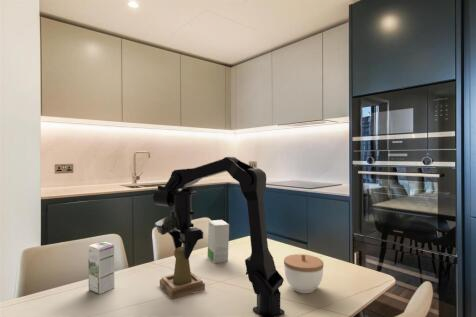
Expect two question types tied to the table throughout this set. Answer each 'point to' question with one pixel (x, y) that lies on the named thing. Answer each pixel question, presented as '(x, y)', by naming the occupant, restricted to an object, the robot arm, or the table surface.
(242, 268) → the table surface
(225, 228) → the skincare box
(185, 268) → the olive pear-shaped figure
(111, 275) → the syrup box
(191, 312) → the table surface
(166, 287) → the square wooden tray
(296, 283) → the lidded bowl
